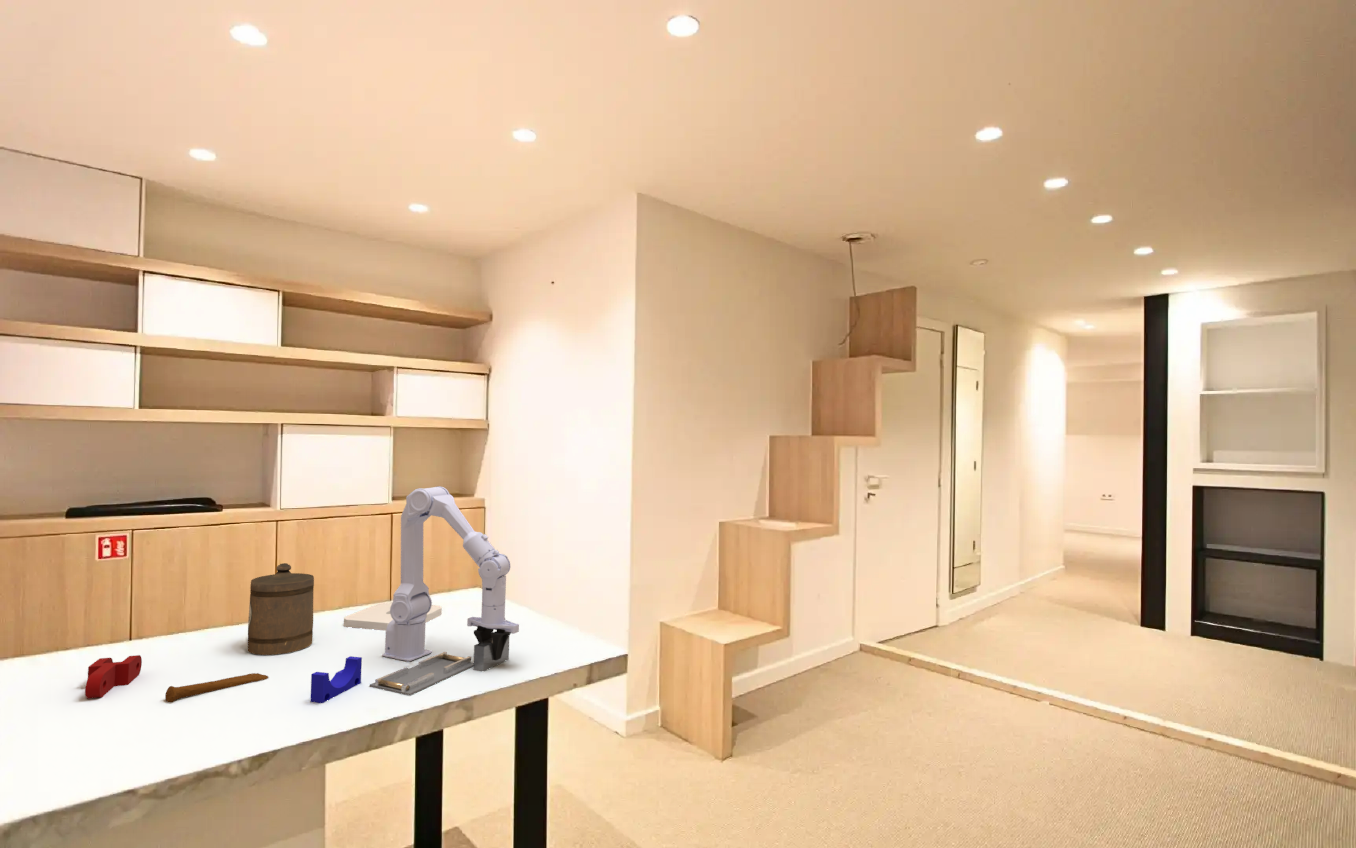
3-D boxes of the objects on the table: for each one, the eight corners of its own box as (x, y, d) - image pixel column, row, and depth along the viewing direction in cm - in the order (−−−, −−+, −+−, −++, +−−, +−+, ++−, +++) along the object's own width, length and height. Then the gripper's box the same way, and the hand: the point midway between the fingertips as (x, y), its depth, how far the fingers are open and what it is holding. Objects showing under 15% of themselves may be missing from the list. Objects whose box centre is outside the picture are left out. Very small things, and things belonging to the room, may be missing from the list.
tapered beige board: (338, 628, 193) (338, 619, 193) (383, 609, 215) (384, 601, 215) (406, 633, 190) (406, 624, 190) (445, 614, 211) (445, 605, 212)
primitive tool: (257, 675, 155) (258, 660, 155) (270, 680, 152) (271, 664, 152) (161, 702, 138) (162, 685, 138) (174, 708, 135) (174, 691, 135)
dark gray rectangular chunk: (473, 669, 161) (474, 645, 161) (499, 657, 170) (499, 634, 170) (483, 671, 160) (484, 647, 160) (508, 659, 169) (509, 636, 169)
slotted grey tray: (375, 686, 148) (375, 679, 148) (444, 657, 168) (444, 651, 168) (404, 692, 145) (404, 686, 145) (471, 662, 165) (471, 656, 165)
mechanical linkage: (102, 677, 150) (103, 655, 150) (141, 674, 153) (142, 652, 153) (69, 704, 135) (71, 679, 136) (113, 699, 138) (114, 675, 138)
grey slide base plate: (369, 686, 148) (369, 684, 148) (439, 657, 169) (439, 656, 169) (409, 695, 144) (410, 693, 144) (476, 665, 164) (476, 663, 164)
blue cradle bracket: (343, 682, 151) (344, 655, 151) (360, 683, 150) (361, 657, 151) (304, 701, 140) (305, 673, 140) (322, 704, 139) (323, 675, 139)
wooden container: (276, 636, 183) (279, 557, 183) (324, 640, 180) (327, 560, 181) (232, 653, 168) (236, 567, 168) (285, 658, 166) (288, 570, 166)
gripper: (526, 603, 166) (525, 657, 166) (480, 597, 172) (479, 649, 171) (509, 610, 160) (507, 666, 159) (462, 603, 165) (460, 657, 165)
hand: (491, 658), depth 165 cm, fingers closed on dark gray rectangular chunk, 3 cm apart
